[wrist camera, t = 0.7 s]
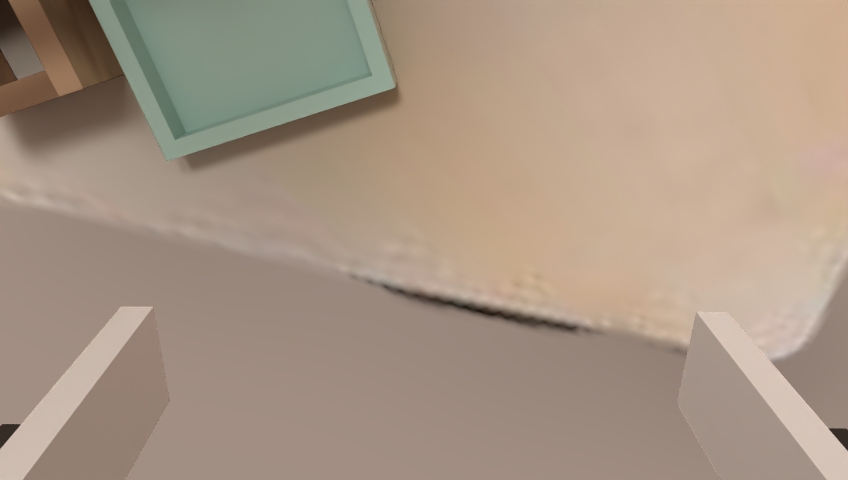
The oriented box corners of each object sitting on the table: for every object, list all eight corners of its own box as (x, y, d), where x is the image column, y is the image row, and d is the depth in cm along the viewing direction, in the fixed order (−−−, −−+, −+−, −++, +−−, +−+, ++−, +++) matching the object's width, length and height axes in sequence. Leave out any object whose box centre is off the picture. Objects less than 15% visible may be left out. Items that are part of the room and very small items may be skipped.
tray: (85, -54, 35) (62, -55, 33) (324, -142, 34) (317, -150, 32) (181, 150, 40) (167, 161, 38) (396, 80, 38) (395, 87, 36)
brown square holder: (-63, -17, 36) (-134, -15, 32) (58, -62, 35) (4, -67, 31) (10, 112, 39) (-45, 132, 34) (124, 74, 38) (83, 88, 33)
